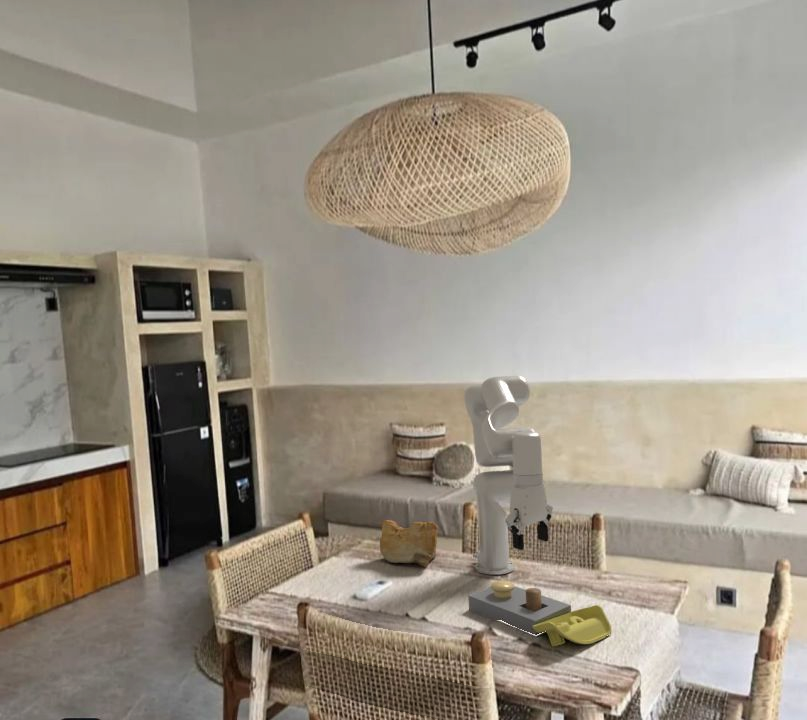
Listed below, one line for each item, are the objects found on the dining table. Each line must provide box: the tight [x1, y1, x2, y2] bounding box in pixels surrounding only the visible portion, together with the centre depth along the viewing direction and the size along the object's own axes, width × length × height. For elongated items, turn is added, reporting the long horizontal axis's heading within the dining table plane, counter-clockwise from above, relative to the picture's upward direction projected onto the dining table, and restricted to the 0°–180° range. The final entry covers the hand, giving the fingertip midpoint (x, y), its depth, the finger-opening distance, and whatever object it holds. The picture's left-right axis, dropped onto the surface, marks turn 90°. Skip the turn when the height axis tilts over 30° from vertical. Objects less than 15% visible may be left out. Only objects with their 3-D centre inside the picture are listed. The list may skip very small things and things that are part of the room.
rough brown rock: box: [379, 519, 439, 568], centre depth 229 cm, size 23×17×15 cm
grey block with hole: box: [467, 580, 572, 635], centre depth 180 cm, size 24×14×7 cm, turn 38°
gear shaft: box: [525, 587, 542, 612], centre depth 175 cm, size 4×4×8 cm
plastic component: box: [533, 604, 612, 647], centre depth 164 cm, size 20×7×10 cm
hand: (531, 544), depth 175 cm, fingers open, 9 cm apart
